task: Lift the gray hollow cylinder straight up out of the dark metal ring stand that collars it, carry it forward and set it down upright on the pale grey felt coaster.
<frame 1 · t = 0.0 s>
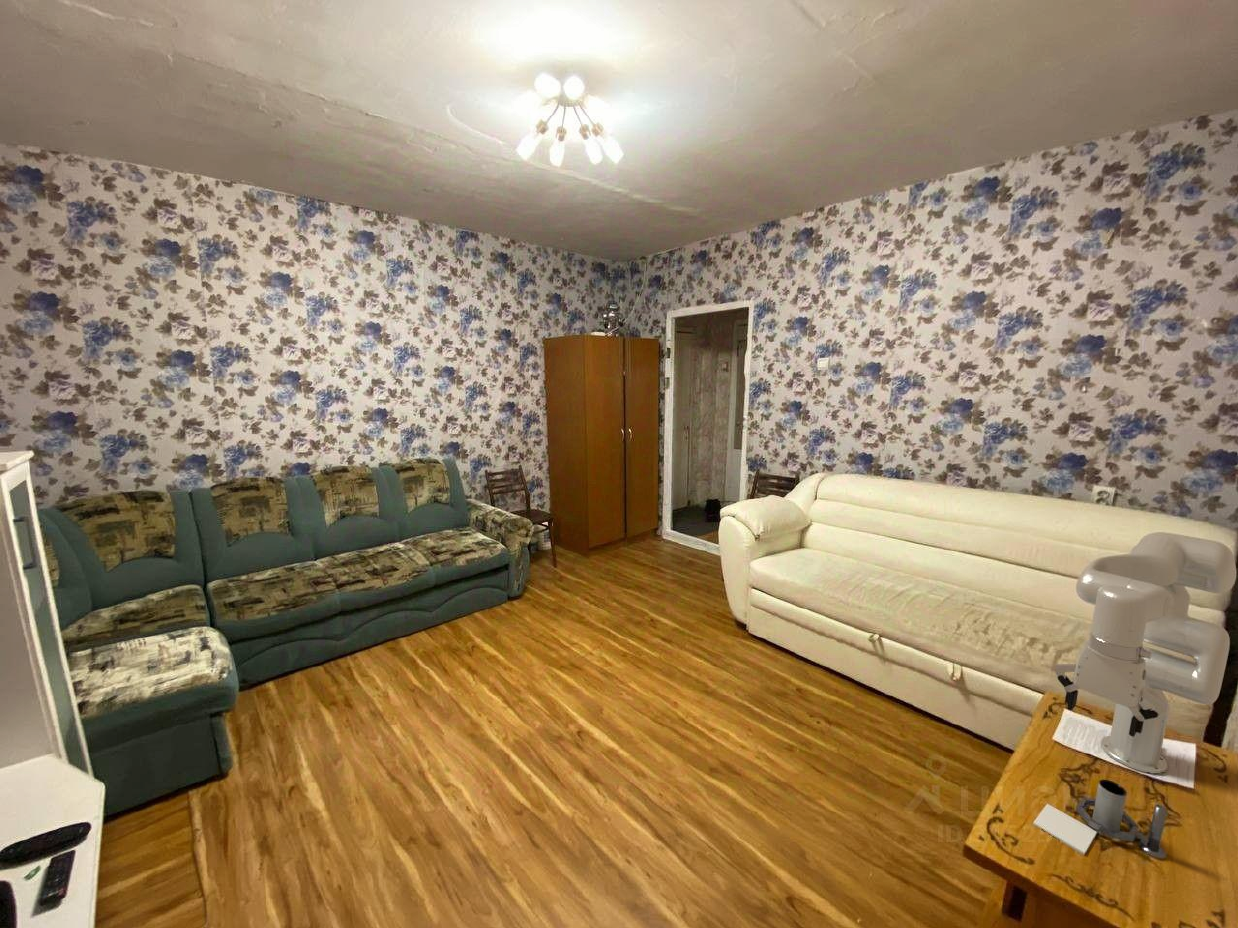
hand: (1100, 719, 104), 31 cm above the table, fingers open, 9 cm apart
gray hollow cylinder: (1105, 825, 114), resting in ring stand
ring stand: (1105, 825, 114), on the table
coaster: (1064, 829, 114), on the table
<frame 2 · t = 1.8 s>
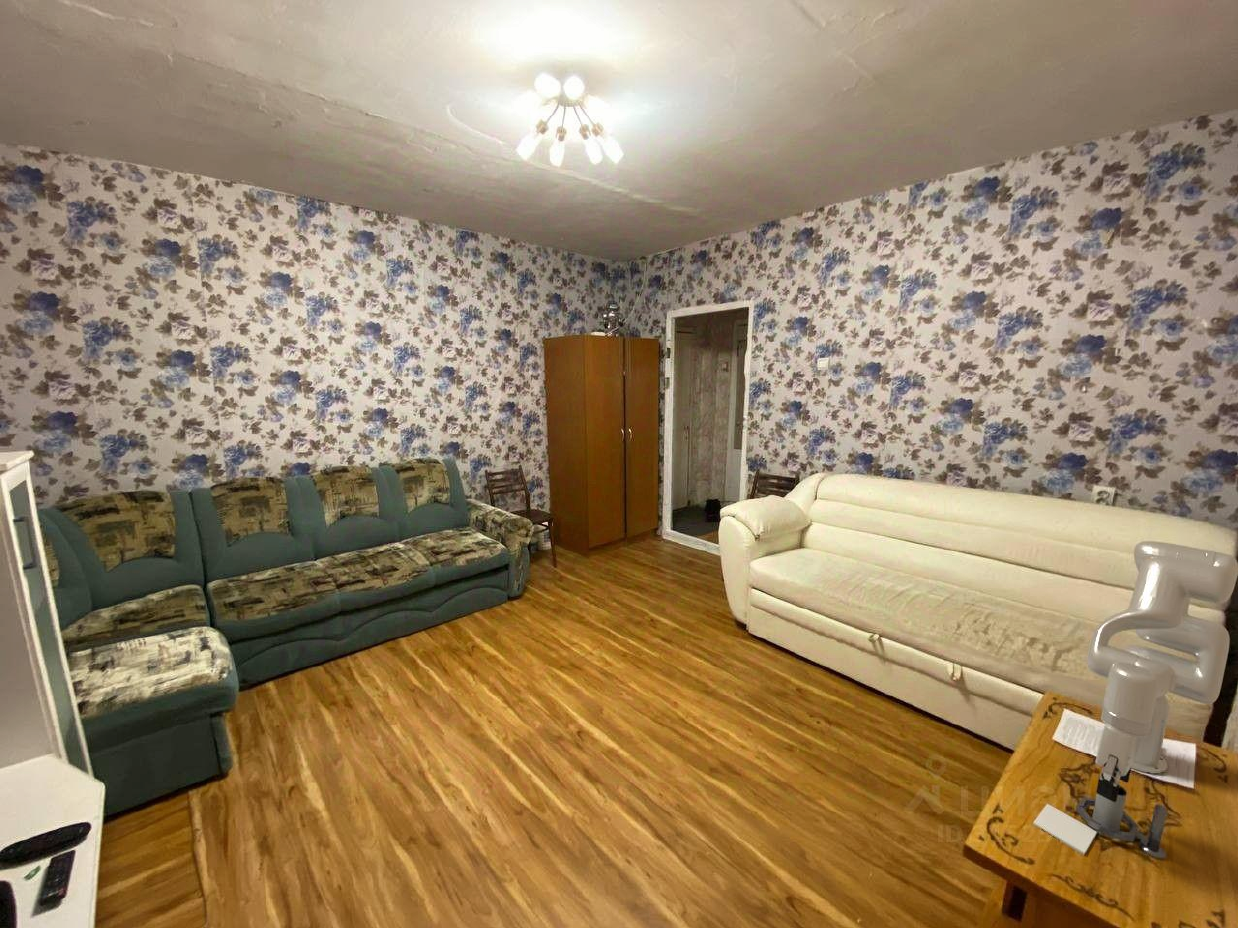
hand: (1112, 787, 112), 11 cm above the table, fingers open, 9 cm apart
nothing on the table moved.
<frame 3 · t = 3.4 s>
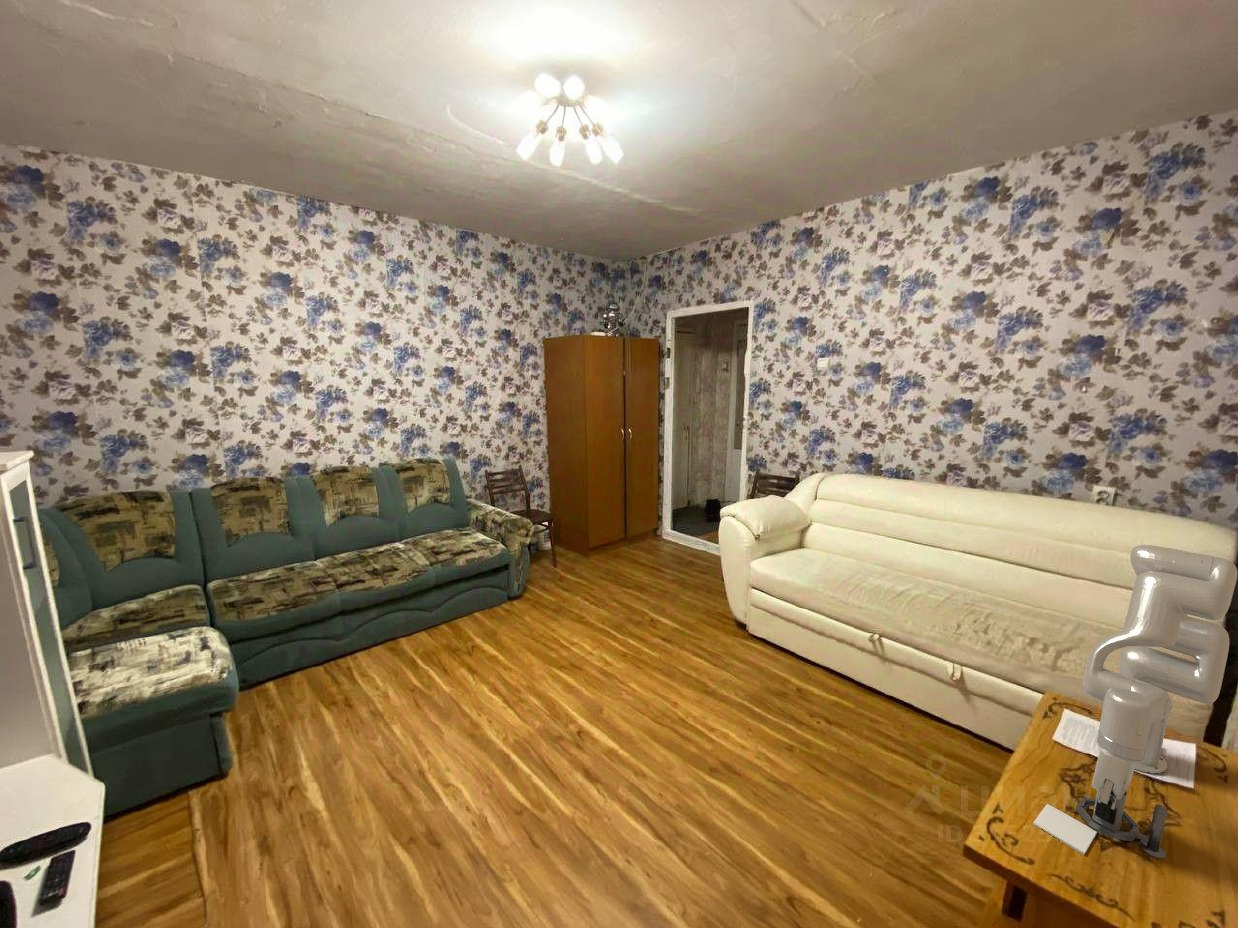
hand: (1107, 812, 114), 3 cm above the table, fingers closed on gray hollow cylinder, 4 cm apart
gray hollow cylinder: (1105, 825, 114), resting in ring stand, touching gripper
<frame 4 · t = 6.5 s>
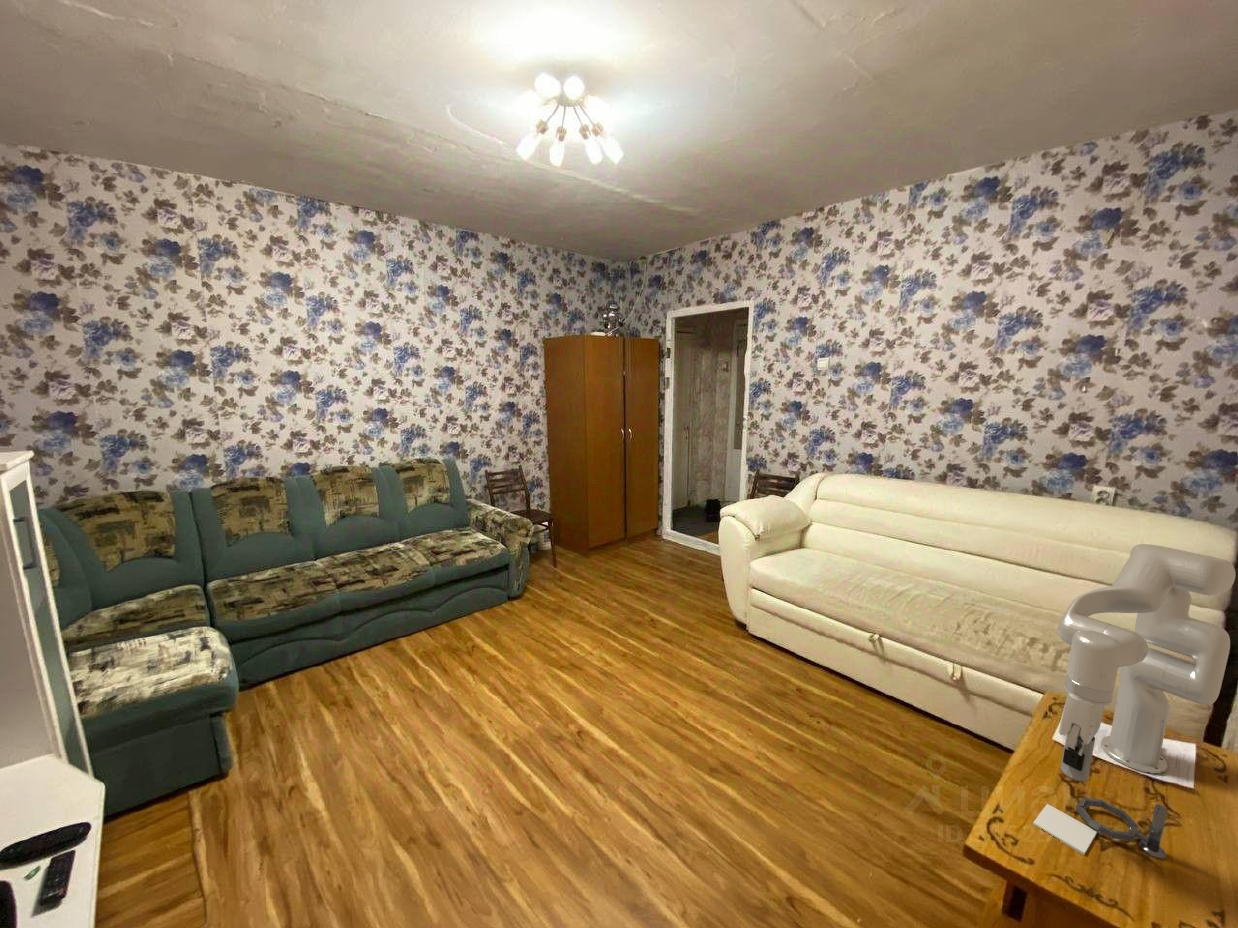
hand: (1076, 760, 110), 18 cm above the table, fingers closed on gray hollow cylinder, 4 cm apart
gray hollow cylinder: (1074, 774, 111), point 15 cm above the table, touching gripper
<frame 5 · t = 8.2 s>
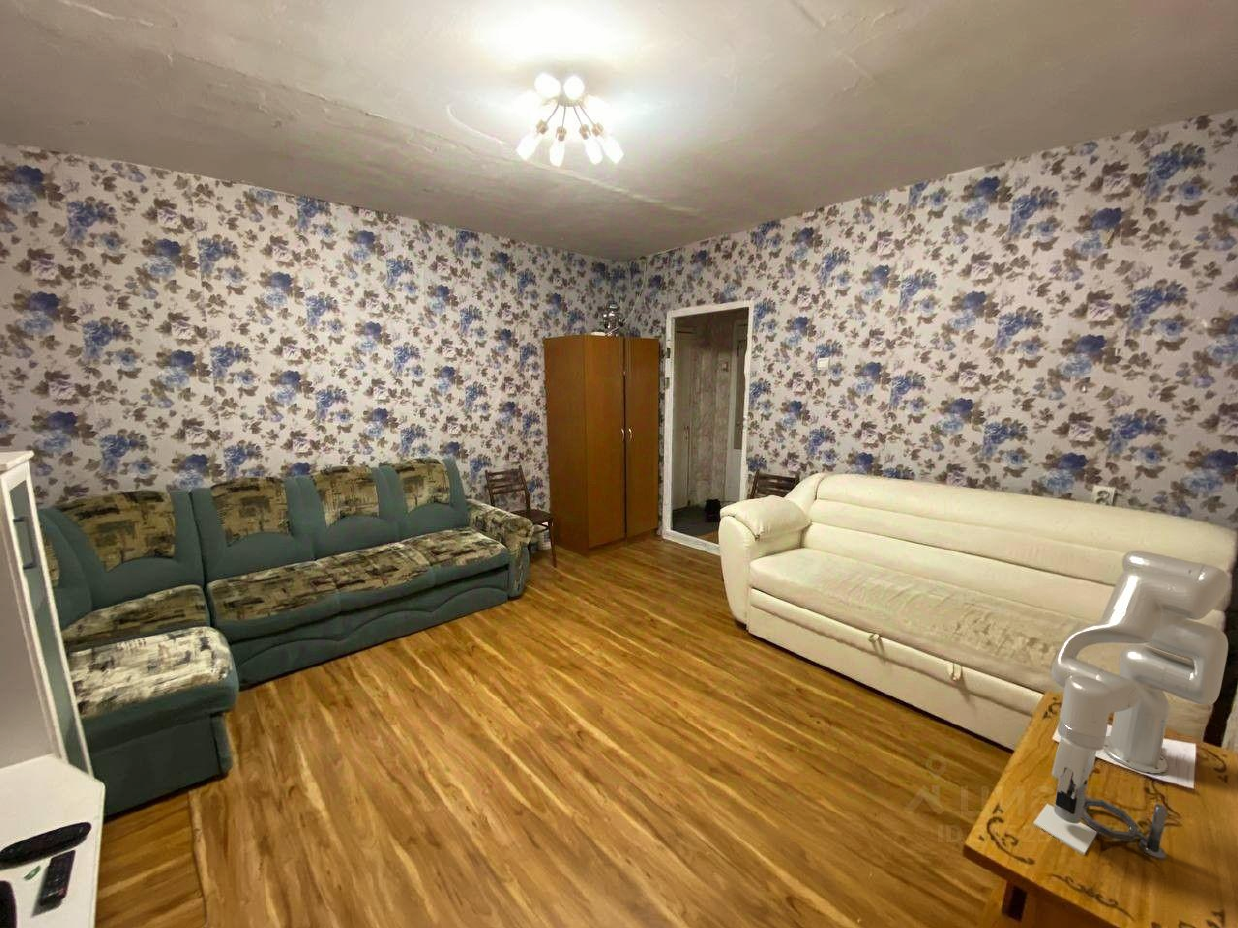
hand: (1068, 802, 112), 7 cm above the table, fingers closed on gray hollow cylinder, 4 cm apart
gray hollow cylinder: (1066, 815, 113), point 4 cm above the table, touching gripper
when the fingers open (5 cm above the table, at t = 9.4 s): gray hollow cylinder drops 1 cm, resting on coaster.
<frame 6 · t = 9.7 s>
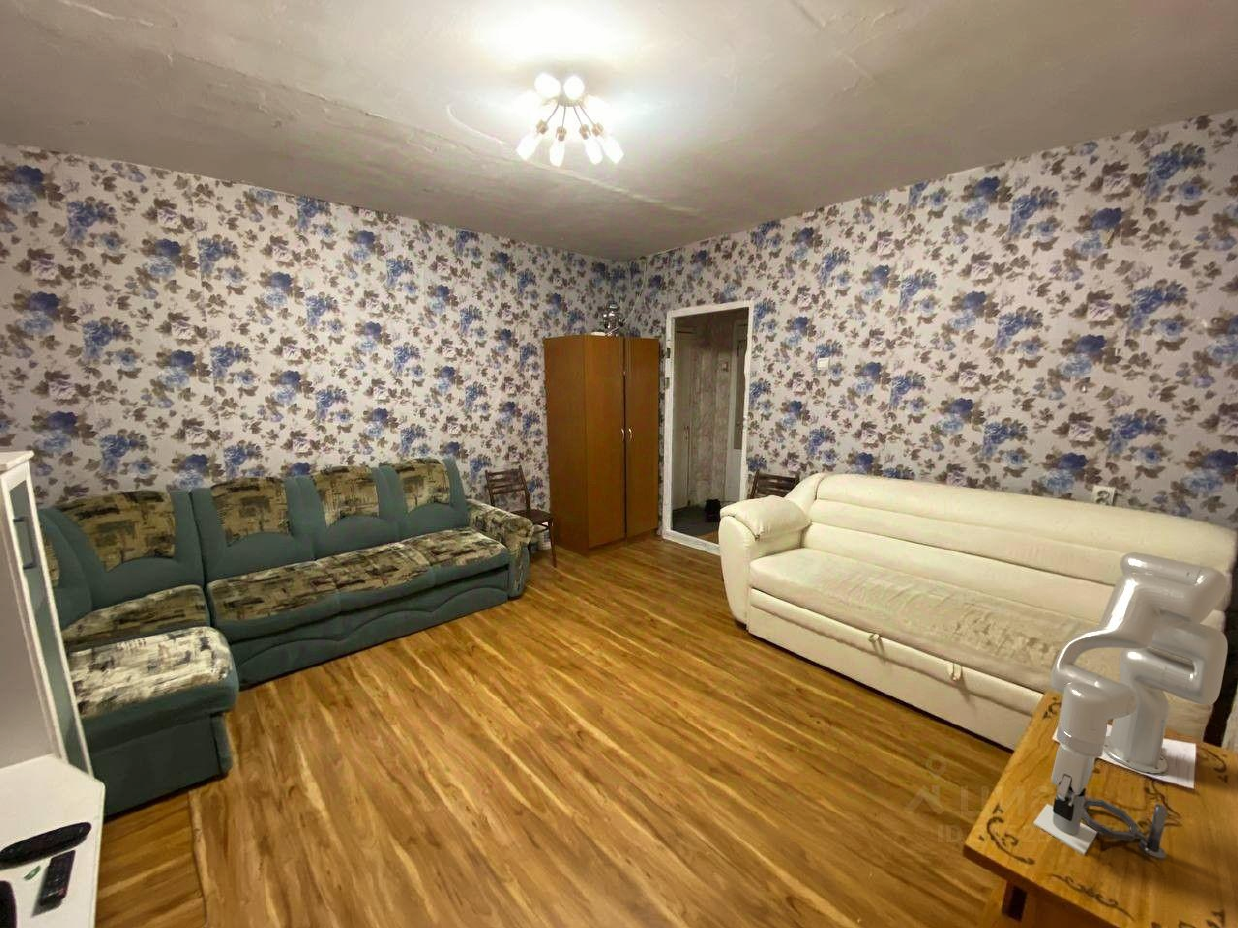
hand: (1068, 806, 112), 6 cm above the table, fingers open, 7 cm apart
gray hollow cylinder: (1065, 827, 114), resting on coaster
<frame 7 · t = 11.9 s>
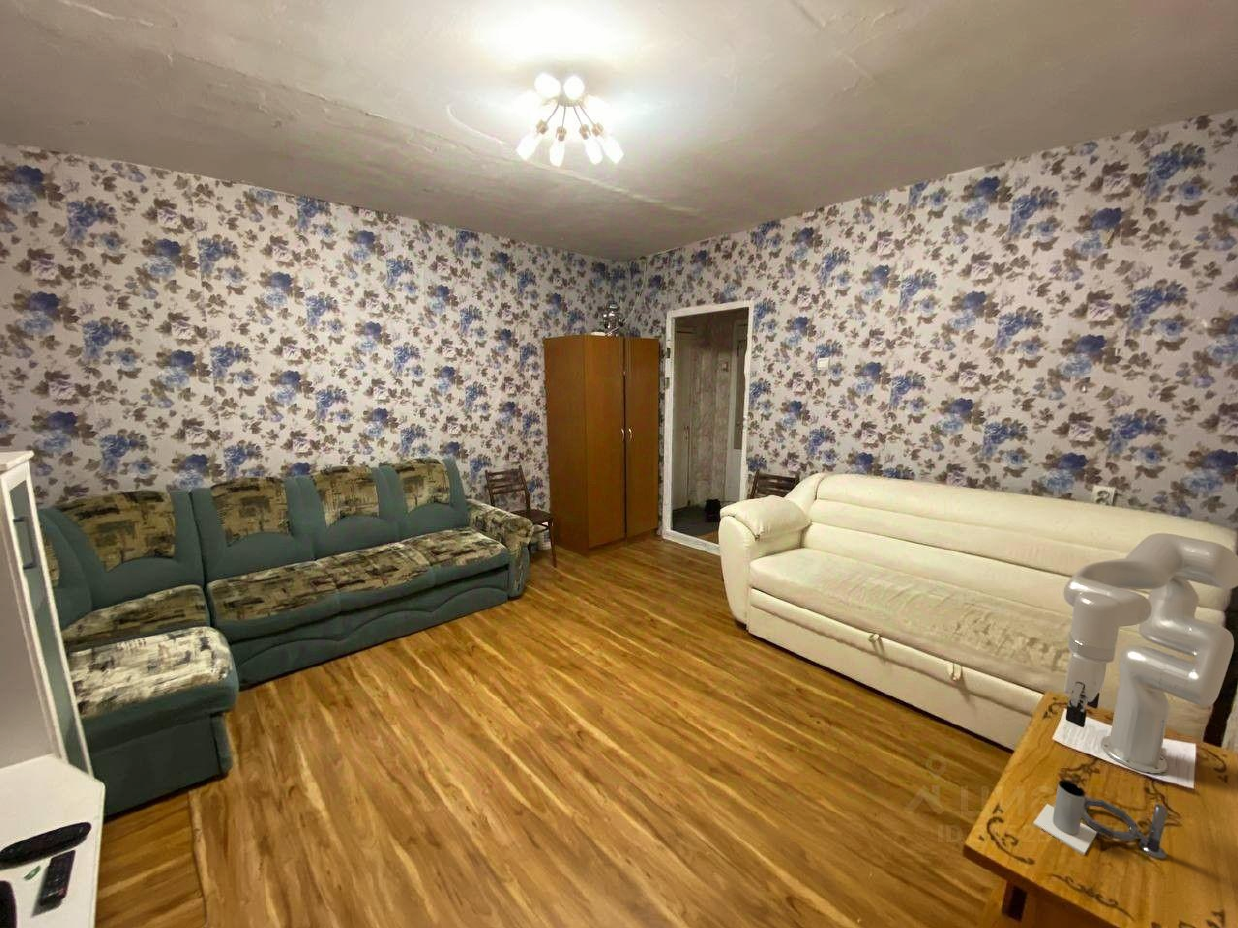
hand: (1081, 713, 114), 26 cm above the table, fingers open, 9 cm apart
nothing on the table moved.
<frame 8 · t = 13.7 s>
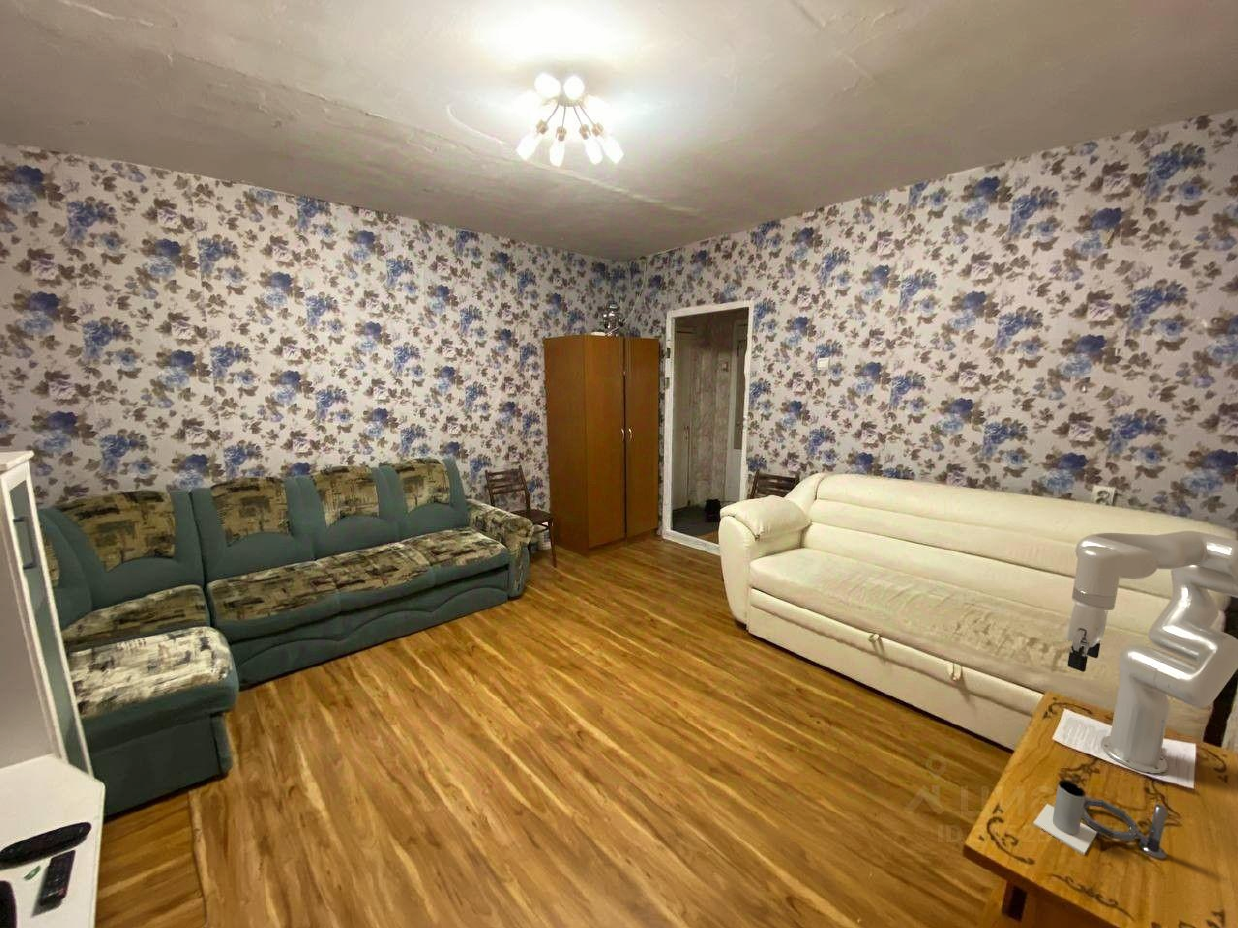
hand: (1082, 661, 121), 33 cm above the table, fingers open, 9 cm apart
nothing on the table moved.
at the end: gray hollow cylinder inside the target area on the coaster (0.3 cm from its centre), point 0.4 cm above the coaster's base; gray hollow cylinder tilted 0°; the gripper is holding nothing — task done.
